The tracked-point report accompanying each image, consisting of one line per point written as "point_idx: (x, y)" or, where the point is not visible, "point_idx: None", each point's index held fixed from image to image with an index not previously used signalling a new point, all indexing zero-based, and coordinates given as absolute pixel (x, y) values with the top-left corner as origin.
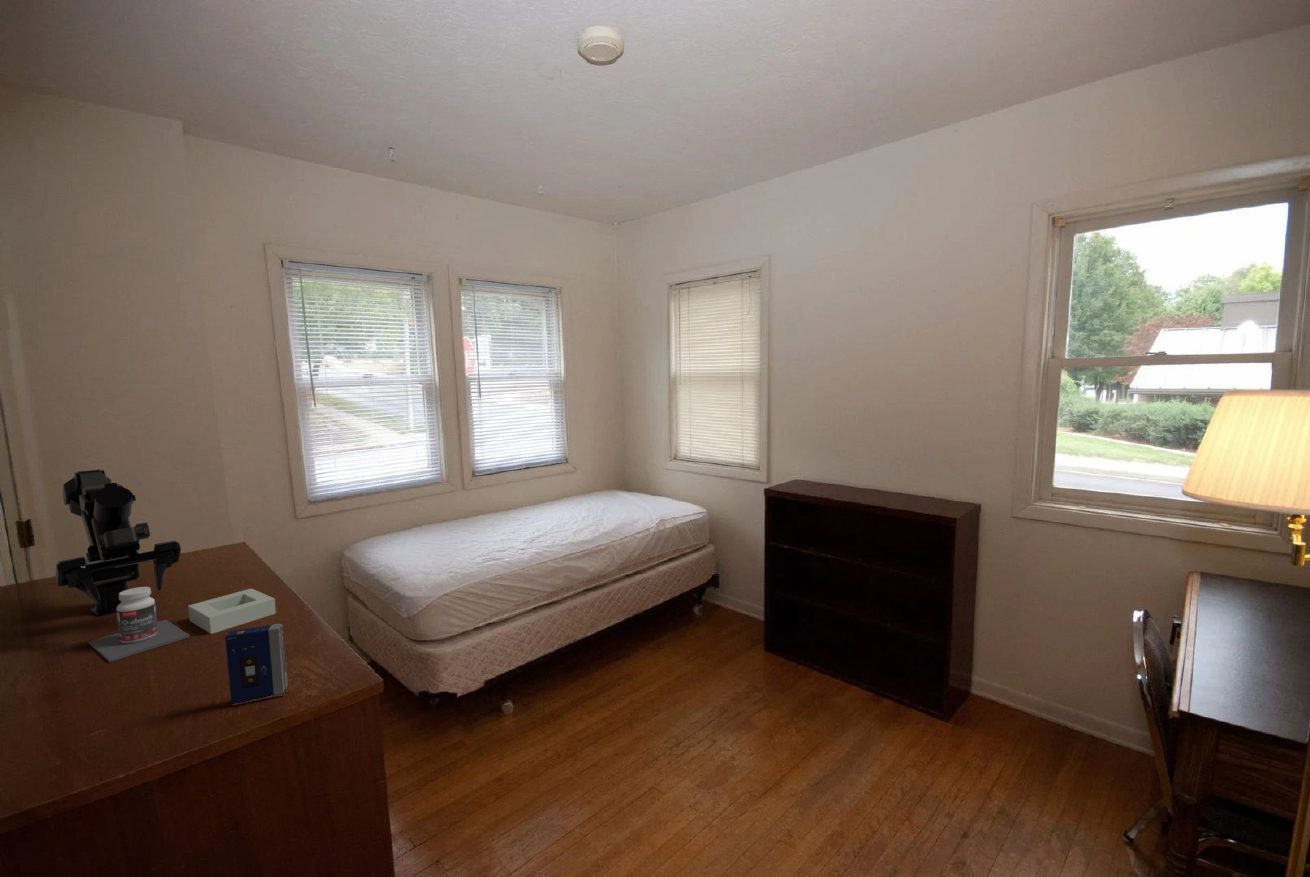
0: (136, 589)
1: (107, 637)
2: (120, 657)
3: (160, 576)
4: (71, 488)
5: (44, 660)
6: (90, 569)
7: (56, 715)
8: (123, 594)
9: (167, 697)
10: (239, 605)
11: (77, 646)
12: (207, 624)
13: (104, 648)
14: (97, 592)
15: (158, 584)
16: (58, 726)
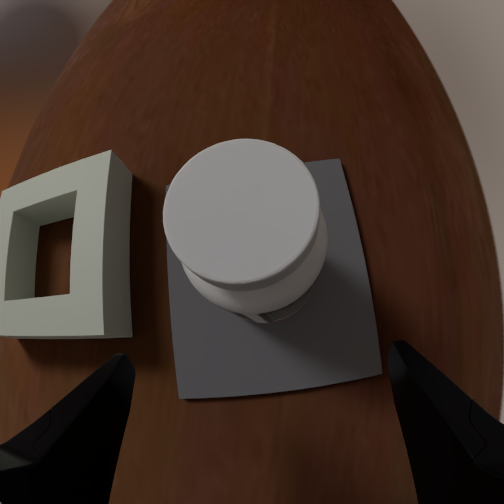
0: (226, 224)
1: (338, 366)
2: (316, 163)
3: (77, 394)
4: None
5: (461, 314)
6: None
7: (380, 34)
8: (298, 167)
9: (263, 2)
10: (41, 199)
11: None
12: (121, 181)
13: (350, 258)
14: (419, 375)
15: (115, 364)
16: (369, 14)
